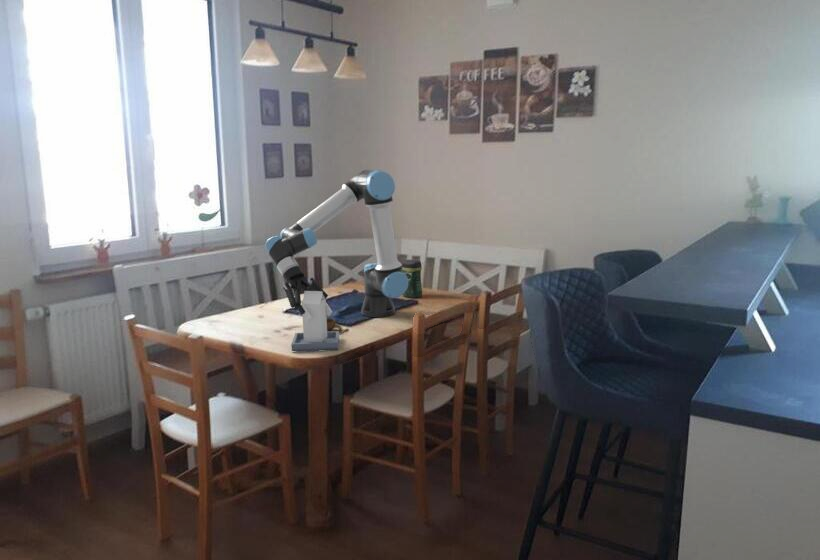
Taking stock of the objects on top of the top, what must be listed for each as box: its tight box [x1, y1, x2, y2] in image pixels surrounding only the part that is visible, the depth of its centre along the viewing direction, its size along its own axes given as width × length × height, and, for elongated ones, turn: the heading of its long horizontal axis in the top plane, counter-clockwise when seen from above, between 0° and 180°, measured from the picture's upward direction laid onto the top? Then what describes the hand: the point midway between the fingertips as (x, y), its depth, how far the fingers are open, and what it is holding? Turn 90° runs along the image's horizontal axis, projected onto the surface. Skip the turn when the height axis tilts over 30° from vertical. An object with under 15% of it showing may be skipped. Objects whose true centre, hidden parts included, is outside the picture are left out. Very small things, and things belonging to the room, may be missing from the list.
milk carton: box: [301, 291, 328, 342], centre depth 245 cm, size 7×7×19 cm
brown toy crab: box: [326, 314, 349, 336], centre depth 270 cm, size 18×20×6 cm
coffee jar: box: [401, 259, 423, 299], centre depth 323 cm, size 10×8×19 cm
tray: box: [291, 330, 340, 352], centre depth 247 cm, size 17×15×3 cm
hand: (320, 317), depth 243 cm, fingers closed on milk carton, 9 cm apart
